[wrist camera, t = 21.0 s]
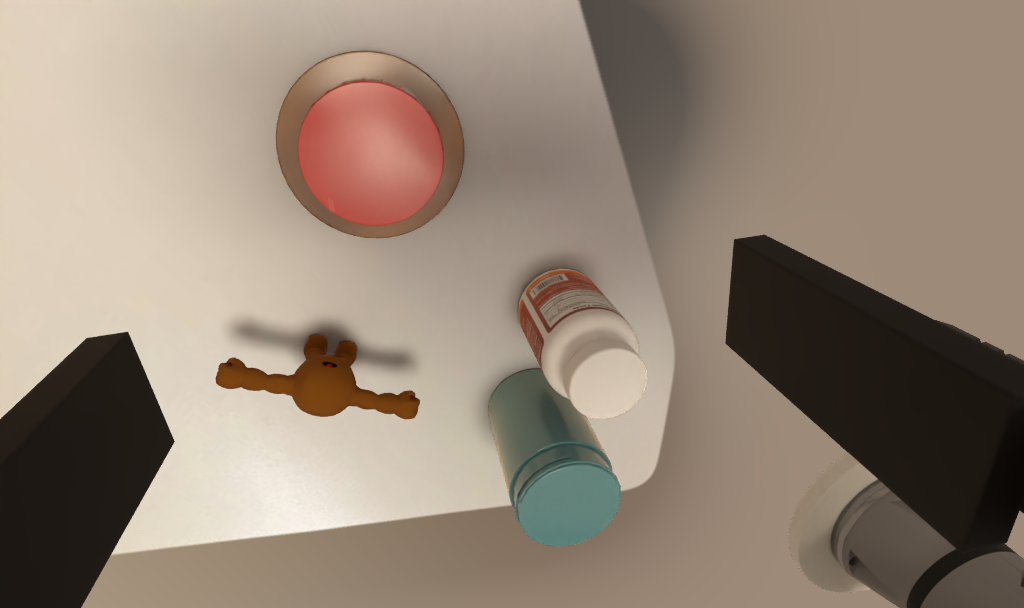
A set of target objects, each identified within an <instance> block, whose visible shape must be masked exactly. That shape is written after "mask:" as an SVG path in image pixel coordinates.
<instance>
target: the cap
mask: <svg viewBox="0 0 1024 608" xmlns="http://www.w3.org/2000/svg"><path fill="white" fill-rule="evenodd" d="M324 94H325V95H324V96H323V97H321V98H320V99H319V100H318V101H317V102H316V103H314V104H313V105H311V109H310V111H309V112H308V114H307V115H306V117H305V119H304V121H303V122H302V126H301V130H300V133H299V139H298V159H299V165H300V168H301V172H302V175H303V177H304V179H305V182H306V184H307V185H308V187H309V189H310V190H311V192H312V193H313V194H314V196H315V197H316V198H317V199H318V200H319V201H320V203H321V204H322V205H324V206H325V207H326V208H327V209H328V210H330V211H331V212H333V213H334V214H336V215H337V216H339V217H341V218H343V219H345V220H348V221H351V222H354V223H357V224H362V225H369V226H383V225H389V224H394V223H397V222H400V221H403V220H405V219H407V218H409V217H411V216H412V215H414V214H416V213H417V212H418V211H419V210H421V209H422V208H423V207H424V206H425V205H426V204H427V203H428V201H429V200H430V199H431V197H432V196H433V195H434V193H435V191H436V189H437V187H438V185H439V182H440V179H441V175H442V171H443V163H444V156H443V151H444V149H443V146H442V141H441V138H440V134H439V133H440V131H439V129H438V127H436V125H435V123H434V121H433V119H432V118H431V113H430V112H429V111H427V110H426V109H425V107H424V106H423V105H422V104H421V103H420V102H419V101H418V98H417V97H414V96H413V95H411V94H410V93H409V92H407V91H406V90H404V89H402V86H399V87H398V86H396V85H394V84H392V83H388V82H385V81H383V79H381V81H380V80H373V79H364V78H362V79H361V80H354V81H350V82H347V83H346V82H343V83H342V85H339V86H337V87H335V88H334V89H332V90H330V91H329V90H328V91H326V92H325V93H324Z"/></svg>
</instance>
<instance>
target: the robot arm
mask: <svg viewBox="0 0 1024 608" xmlns="http://www.w3.org/2000/svg"><path fill="white" fill-rule="evenodd" d="M726 344H727V345H728V346H729V347H730V348H731V349H732V350H733V351H735V352H736V353H737V354H738V355H739V356H740V357H741V358H743V359H744V360H745V361H746V362H747V363H748V364H749V365H750V366H751V367H753V368H754V369H755V370H756V371H757V372H758V373H759V374H760V375H762V376H763V377H764V378H765V379H766V380H767V381H768V382H769V383H771V384H772V385H773V386H774V387H775V388H776V389H777V390H778V391H780V392H781V393H782V394H783V395H784V396H785V397H786V398H787V399H789V400H790V401H791V402H792V403H793V404H794V405H795V406H796V407H797V408H799V409H800V410H801V411H802V412H803V413H804V414H805V415H806V416H808V417H809V418H810V419H811V420H812V421H813V422H814V423H815V424H817V425H818V426H819V427H820V428H821V429H822V430H823V431H824V432H826V433H827V434H828V435H829V436H830V437H831V438H832V439H833V440H835V441H836V442H837V443H838V444H839V445H840V446H841V447H842V448H843V449H845V450H846V451H847V452H848V453H849V454H850V455H851V456H852V457H854V458H855V459H856V460H857V461H858V462H859V463H860V464H861V465H863V466H864V467H865V468H866V469H867V470H868V471H869V472H870V473H872V474H873V475H874V476H875V477H876V478H877V479H878V480H876V481H874V482H873V483H871V484H870V485H868V486H867V487H866V488H864V489H863V490H862V491H861V492H859V493H858V494H857V495H856V496H855V497H854V498H853V499H852V500H851V501H850V502H849V503H848V504H847V506H846V507H845V508H844V510H843V511H842V512H841V514H840V515H839V517H838V519H837V521H836V523H835V525H834V527H833V530H832V534H831V541H830V545H831V551H832V554H833V556H834V557H835V559H836V560H837V561H838V562H839V564H840V565H841V566H842V567H843V568H844V569H845V570H846V572H847V573H848V574H849V575H850V576H852V577H854V578H855V579H857V580H858V581H860V582H861V583H863V584H864V585H866V586H867V587H869V588H870V589H872V590H873V591H875V592H877V593H878V594H879V595H881V596H882V597H884V598H885V599H887V600H888V601H890V602H892V603H893V604H895V605H896V606H898V607H899V608H1024V559H1023V558H1022V557H1021V556H1019V555H1018V554H1017V553H1015V552H1014V551H1013V550H1012V549H1011V548H1009V547H1008V546H1007V545H1006V544H1005V543H1006V542H1007V541H1008V538H1009V536H1010V533H1011V530H1012V528H1013V525H1014V523H1015V520H1016V518H1017V515H1018V513H1019V510H1020V511H1021V512H1023V513H1024V361H1023V360H1021V359H1019V358H1017V357H1015V356H1013V355H1011V354H1006V355H1005V354H1004V351H1003V350H1001V349H999V348H997V347H995V346H993V345H991V344H989V343H987V342H983V343H981V341H980V339H979V338H977V337H975V336H973V335H971V334H969V333H966V332H965V331H963V330H961V329H959V328H957V327H955V326H953V325H950V324H946V323H943V322H940V321H937V320H933V319H931V318H929V317H927V316H925V315H923V314H921V313H919V312H917V311H915V310H913V309H911V308H909V307H907V306H905V305H903V304H901V303H900V302H897V301H895V300H893V299H892V298H889V297H888V296H886V295H883V294H882V293H879V292H878V291H876V290H874V289H872V288H870V287H868V286H865V285H864V284H862V283H860V282H858V281H855V280H854V279H852V278H850V277H848V276H846V275H843V274H842V273H840V272H838V271H836V270H834V269H832V268H830V267H828V266H826V265H824V264H822V263H820V262H818V261H816V260H814V259H812V258H810V257H808V256H806V255H804V254H802V253H800V252H798V251H796V250H794V249H792V248H790V247H788V246H786V245H784V244H782V243H780V242H778V241H776V240H774V239H772V238H770V237H767V236H766V235H760V236H753V237H747V238H740V239H735V240H734V247H733V258H732V271H731V283H730V295H729V307H728V319H727V331H726ZM174 442H175V441H174V439H173V437H172V434H171V432H170V430H169V427H168V425H167V423H166V420H165V418H164V415H163V413H162V411H161V408H160V406H159V404H158V401H157V399H156V397H155V394H154V392H153V390H152V387H151V385H150V383H149V380H148V378H147V375H146V373H145V371H144V368H143V366H142V364H141V361H140V359H139V357H138V354H137V352H136V350H135V347H134V345H133V343H132V340H131V338H130V335H129V333H128V332H124V333H117V334H111V335H104V336H98V337H91V338H86V339H85V340H84V341H83V342H82V343H81V344H80V345H79V346H78V347H77V348H76V349H75V350H74V351H73V352H72V353H70V354H69V355H68V356H67V357H66V358H65V359H64V360H63V361H62V362H61V363H60V364H59V365H58V366H57V367H55V368H54V369H53V370H52V371H51V372H50V373H49V374H48V375H47V376H46V377H45V378H44V379H43V380H42V381H41V382H39V383H38V384H37V385H36V386H35V387H34V388H33V389H32V390H31V391H30V392H29V393H28V394H27V395H26V396H25V397H23V398H22V399H21V400H20V401H19V402H18V403H17V404H16V405H15V406H14V407H13V408H12V409H11V410H10V411H8V412H7V413H6V414H5V415H4V416H3V417H2V418H1V419H0V608H81V607H82V605H83V603H84V602H85V600H86V598H87V596H88V594H89V593H90V591H91V589H92V587H93V586H94V584H95V582H96V580H97V578H98V577H99V575H100V573H101V571H102V569H103V568H104V566H105V564H106V562H107V561H108V559H109V557H110V555H111V554H112V552H113V550H114V548H115V546H116V545H117V543H118V541H119V539H120V538H121V536H122V534H123V532H124V530H125V529H126V527H127V525H128V523H129V522H130V520H131V518H132V516H133V515H134V513H135V511H136V509H137V507H138V506H139V504H140V502H141V500H142V499H143V497H144V495H145V493H146V491H147V490H148V488H149V486H150V484H151V483H152V481H153V479H154V477H155V475H156V474H157V472H158V470H159V468H160V467H161V465H162V463H163V461H164V459H165V458H166V456H167V454H168V452H169V451H170V449H171V447H172V445H173V443H174Z"/></svg>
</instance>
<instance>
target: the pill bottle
mask: <svg viewBox="0 0 1024 608" xmlns="http://www.w3.org/2000/svg"><path fill="white" fill-rule="evenodd" d="M518 315H519V321H520V324H521V327H522V330H523V332H524V334H525V336H526V338H527V340H528V342H529V344H530V346H531V348H532V350H533V352H534V355H535V357H536V359H537V361H538V363H539V365H540V367H541V369H542V371H543V373H544V375H545V377H546V379H547V381H548V382H549V384H550V385H551V386H552V388H553V389H554V390H555V391H556V392H558V393H559V394H560V395H562V396H564V397H566V398H568V399H570V400H571V402H572V404H573V406H574V407H575V408H576V409H577V410H578V411H579V412H580V413H582V414H583V415H585V416H587V417H590V418H594V419H608V418H612V417H616V416H619V415H621V414H623V413H624V412H626V411H628V410H629V409H630V408H632V407H633V406H634V405H635V404H636V403H637V402H638V401H639V399H640V398H641V396H642V395H643V393H644V390H645V388H646V384H647V370H646V366H645V364H644V362H643V361H642V359H641V358H640V356H639V343H638V339H637V336H636V334H635V332H634V330H633V329H632V327H631V326H630V324H629V323H628V322H627V321H626V320H625V319H624V317H623V316H622V315H621V314H620V313H619V312H618V311H617V309H616V308H615V307H614V306H613V305H612V304H611V303H610V302H609V300H608V299H607V298H606V297H605V296H604V295H603V293H602V292H601V291H600V290H599V289H598V288H597V286H596V285H595V284H594V283H593V282H592V281H591V280H590V279H589V278H588V277H586V276H585V275H583V274H582V273H580V272H577V271H574V270H570V269H556V270H551V271H548V272H546V273H543V274H541V275H540V276H538V277H536V278H535V279H534V280H533V281H532V282H531V283H530V284H529V285H528V286H527V287H526V289H525V290H524V292H523V294H522V296H521V299H520V302H519V308H518Z"/></svg>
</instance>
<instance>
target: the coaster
mask: <svg viewBox="0 0 1024 608" xmlns="http://www.w3.org/2000/svg"><path fill="white" fill-rule="evenodd" d="M362 78H364V79H373V80H380V81H381V79H383V81H385V82H388V83H392V84H394V85H396V86H398V87H399V86H402V89H404V90H406V91H407V92H409V93H410V94H411V95H413V96H414V97H417V98H418V101H419V102H420V103H421V104H422V105H423V106H424V107H425V109H426V110H427V111H429V112H430V113H431V118H432V119H433V121H434V123H435V125H436V127H438V129H439V131H440V133H439V134H440V138H441V141H442V146H443V149H444V151H443V156H444V163H443V171H442V175H441V179H440V182H439V185H438V187H437V189H436V191H435V193H434V195H433V196H432V197H431V199H430V200H429V201H428V203H427V204H426V205H425V206H424V207H423V208H422V209H421V210H419V211H418V212H417V213H416V214H414V215H412V216H411V217H409V218H407V219H405V220H403V221H400V222H397V223H394V224H389V225H383V226H369V225H362V224H357V223H354V222H351V221H348V220H345V219H343V218H341V217H339V216H337V215H336V214H334V213H333V212H331V211H330V210H328V209H327V208H326V207H325V206H324V205H322V204H321V203H320V201H319V200H318V199H317V198H316V197H315V196H314V194H313V193H312V192H311V190H310V189H309V187H308V185H307V184H306V182H305V179H304V177H303V175H302V172H301V168H300V165H299V159H298V139H299V133H300V130H301V126H302V122H303V121H304V119H305V117H306V115H307V114H308V112H309V111H310V109H311V105H313V104H314V103H316V102H317V101H318V100H319V99H320V98H321V97H323V96H324V95H325V94H324V93H325V92H326V91H328V90H329V91H330V90H332V89H334V88H335V87H337V86H339V85H342V83H343V82H346V83H347V82H350V81H354V80H361V79H362ZM276 149H277V154H278V160H279V164H280V167H281V170H282V173H283V175H284V177H285V179H286V182H287V184H288V186H289V187H290V189H291V190H292V192H293V193H294V195H295V196H296V198H297V199H298V200H299V201H300V203H301V204H302V205H303V206H304V207H305V208H306V209H307V210H308V211H309V212H310V213H311V214H313V215H314V216H315V217H317V218H318V219H319V220H320V221H322V222H324V223H325V224H327V225H329V226H330V227H332V228H335V229H337V230H339V231H341V232H344V233H347V234H351V235H354V236H360V237H365V238H388V237H393V236H399V235H402V234H405V233H408V232H411V231H413V230H415V229H417V228H419V227H421V226H423V225H424V224H426V223H427V222H429V221H430V220H431V219H433V218H434V217H435V216H436V215H437V214H438V213H439V212H440V211H441V210H442V209H443V208H444V207H445V206H446V204H447V203H448V201H449V200H450V198H451V197H452V195H453V193H454V191H455V189H456V187H457V185H458V182H459V179H460V177H461V173H462V168H463V161H464V140H463V134H462V129H461V125H460V122H459V119H458V116H457V114H456V112H455V109H454V107H453V105H452V103H451V102H450V100H449V99H448V97H447V95H446V94H445V93H444V91H443V90H442V89H441V88H440V86H439V85H438V84H437V83H436V82H435V81H434V80H433V79H432V78H431V77H430V76H429V75H428V74H426V73H425V72H424V71H422V70H421V69H420V68H418V67H417V66H415V65H413V64H411V63H410V62H408V61H406V60H404V59H401V58H399V57H396V56H394V55H390V54H386V53H382V52H374V51H353V52H347V53H342V54H338V55H335V56H332V57H329V58H327V59H325V60H323V61H321V62H319V63H317V64H316V65H314V66H313V67H312V68H310V69H309V70H307V71H306V72H305V73H304V74H303V75H302V76H301V77H300V78H299V79H298V80H297V81H296V83H295V84H294V85H293V86H292V88H291V89H290V91H289V93H288V94H287V96H286V98H285V100H284V102H283V105H282V107H281V110H280V113H279V117H278V121H277V129H276Z"/></svg>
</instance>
